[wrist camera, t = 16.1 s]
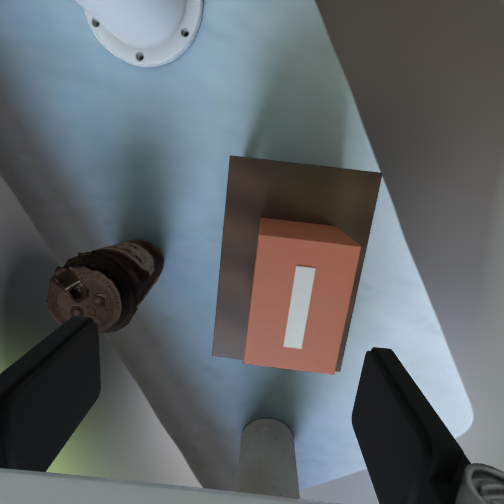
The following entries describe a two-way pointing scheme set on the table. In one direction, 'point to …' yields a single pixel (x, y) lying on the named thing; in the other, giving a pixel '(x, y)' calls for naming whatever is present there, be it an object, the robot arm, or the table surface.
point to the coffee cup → (105, 284)
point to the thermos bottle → (267, 460)
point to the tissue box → (300, 295)
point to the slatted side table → (291, 209)
